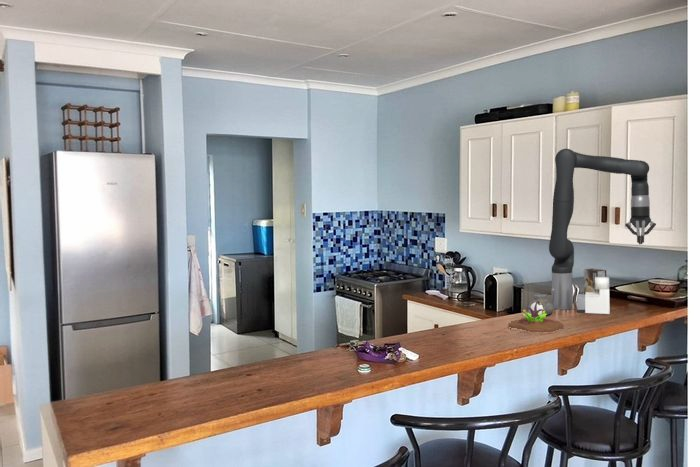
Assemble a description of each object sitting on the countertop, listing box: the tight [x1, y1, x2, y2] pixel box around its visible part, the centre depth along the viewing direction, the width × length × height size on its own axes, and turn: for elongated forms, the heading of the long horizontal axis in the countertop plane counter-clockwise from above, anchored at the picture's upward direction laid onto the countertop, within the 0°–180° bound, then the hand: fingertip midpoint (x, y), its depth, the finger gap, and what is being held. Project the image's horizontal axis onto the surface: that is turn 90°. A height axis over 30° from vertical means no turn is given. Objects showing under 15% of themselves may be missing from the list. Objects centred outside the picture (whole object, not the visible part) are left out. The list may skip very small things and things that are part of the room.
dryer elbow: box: [584, 276, 611, 315], centre depth 260 cm, size 10×8×16 cm
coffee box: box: [583, 268, 607, 294], centre depth 285 cm, size 9×6×16 cm
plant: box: [507, 301, 564, 333], centre depth 236 cm, size 20×20×11 cm
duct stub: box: [576, 293, 586, 314], centre depth 262 cm, size 9×6×8 cm, turn 65°
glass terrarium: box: [527, 294, 555, 316], centre depth 257 cm, size 12×8×10 cm
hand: (640, 243), depth 258 cm, fingers closed
